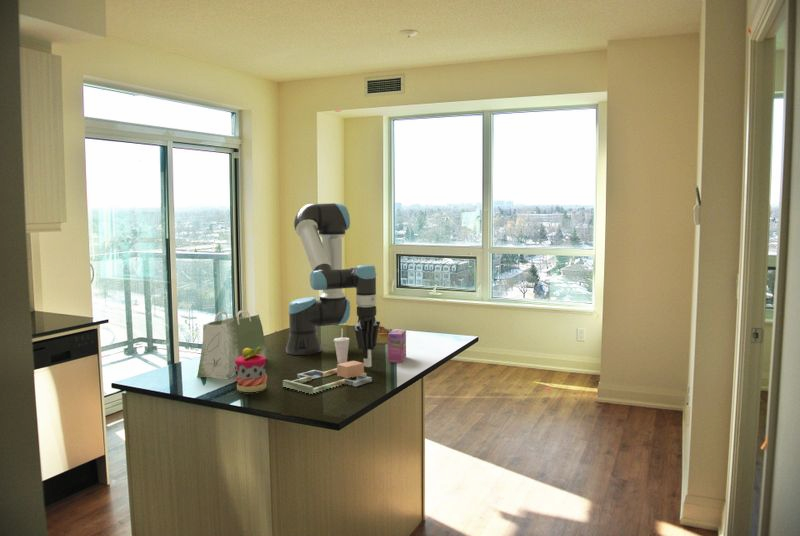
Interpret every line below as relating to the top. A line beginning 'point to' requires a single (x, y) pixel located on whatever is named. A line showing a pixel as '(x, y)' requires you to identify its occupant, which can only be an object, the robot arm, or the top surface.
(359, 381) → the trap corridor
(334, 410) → the top surface
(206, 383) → the top surface
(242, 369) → the cake
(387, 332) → the pastry
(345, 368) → the block
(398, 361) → the box
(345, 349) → the smoothie
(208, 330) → the grocery bag
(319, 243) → the robot arm
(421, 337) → the top surface
